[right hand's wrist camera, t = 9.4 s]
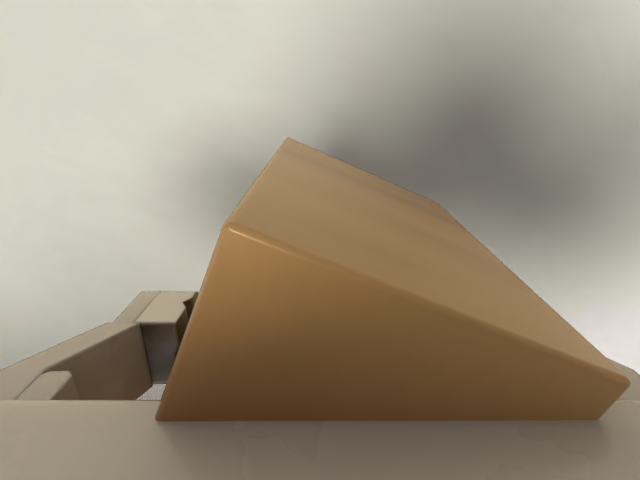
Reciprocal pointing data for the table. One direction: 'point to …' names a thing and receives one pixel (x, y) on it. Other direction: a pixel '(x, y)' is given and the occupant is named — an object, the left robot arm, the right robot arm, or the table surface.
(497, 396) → the bar
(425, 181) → the table surface
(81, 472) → the right robot arm
